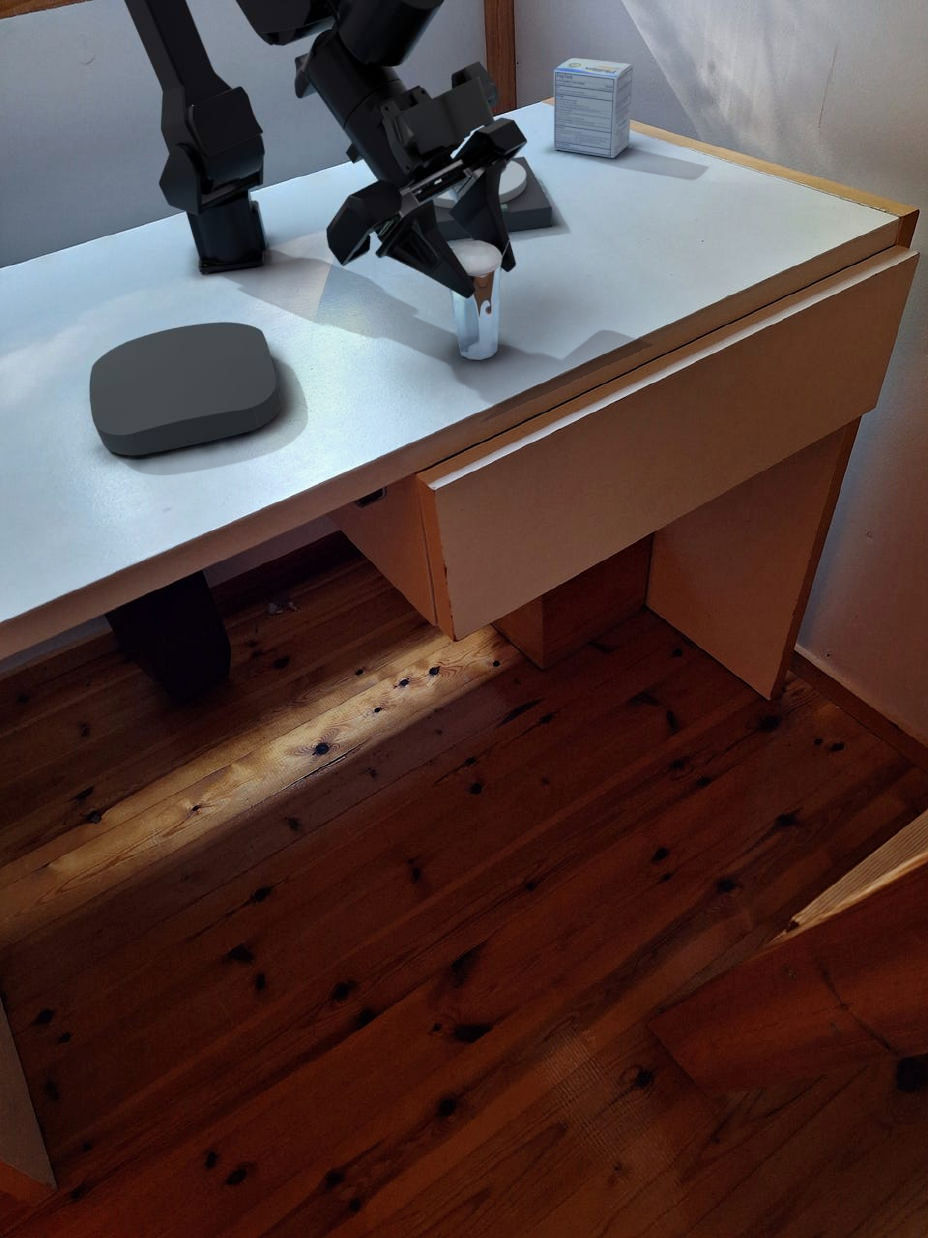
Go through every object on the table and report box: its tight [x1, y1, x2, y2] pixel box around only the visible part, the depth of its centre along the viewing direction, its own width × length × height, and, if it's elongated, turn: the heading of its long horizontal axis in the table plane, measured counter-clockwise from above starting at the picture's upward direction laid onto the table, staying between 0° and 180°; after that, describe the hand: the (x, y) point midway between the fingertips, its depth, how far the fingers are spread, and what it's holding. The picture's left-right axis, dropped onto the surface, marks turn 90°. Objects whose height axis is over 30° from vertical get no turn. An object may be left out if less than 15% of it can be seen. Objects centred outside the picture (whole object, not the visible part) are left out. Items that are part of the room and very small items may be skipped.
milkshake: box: [449, 234, 512, 361], centre depth 74 cm, size 5×5×10 cm
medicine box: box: [553, 57, 634, 159], centre depth 103 cm, size 8×4×9 cm, turn 57°
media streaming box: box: [88, 321, 282, 456], centre depth 74 cm, size 15×15×3 cm
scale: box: [414, 156, 553, 241], centre depth 96 cm, size 14×14×3 cm
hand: (492, 281), depth 72 cm, fingers open, 5 cm apart
